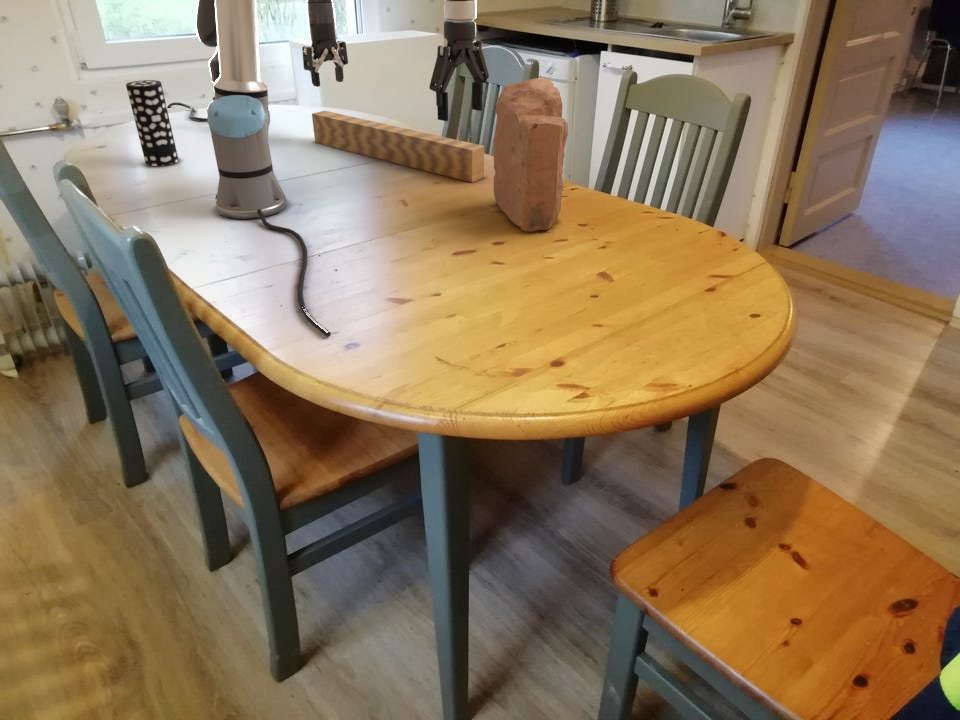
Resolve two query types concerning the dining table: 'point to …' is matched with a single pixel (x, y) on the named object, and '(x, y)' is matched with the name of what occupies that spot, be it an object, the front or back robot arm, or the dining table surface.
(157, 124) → the black white spotted cylinder
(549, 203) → the stone
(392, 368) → the dining table surface
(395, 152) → the beam
